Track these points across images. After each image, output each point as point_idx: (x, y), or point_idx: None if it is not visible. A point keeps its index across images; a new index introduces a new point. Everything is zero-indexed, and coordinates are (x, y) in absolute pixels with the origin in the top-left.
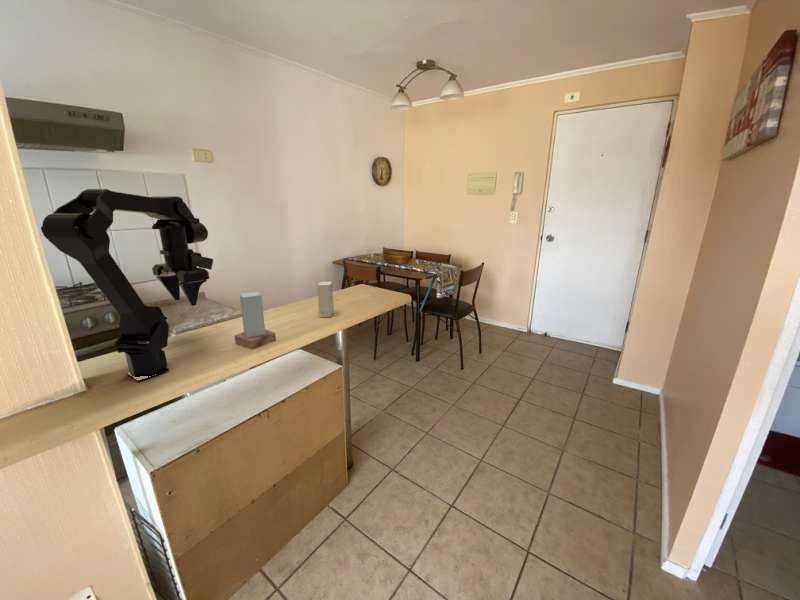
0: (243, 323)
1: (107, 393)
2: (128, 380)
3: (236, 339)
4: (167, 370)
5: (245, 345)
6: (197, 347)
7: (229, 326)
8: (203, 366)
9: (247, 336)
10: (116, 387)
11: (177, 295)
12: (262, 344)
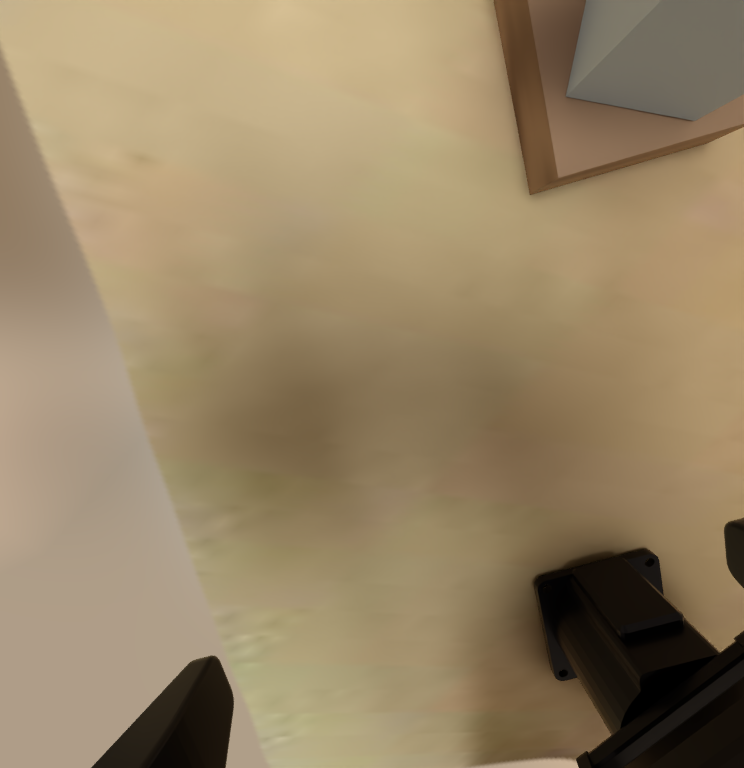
0: (660, 47)
1: None
2: None
3: (564, 179)
4: (655, 557)
5: (648, 158)
6: (434, 394)
7: (144, 112)
8: (713, 422)
9: (706, 110)
10: None
11: (192, 751)
12: None
